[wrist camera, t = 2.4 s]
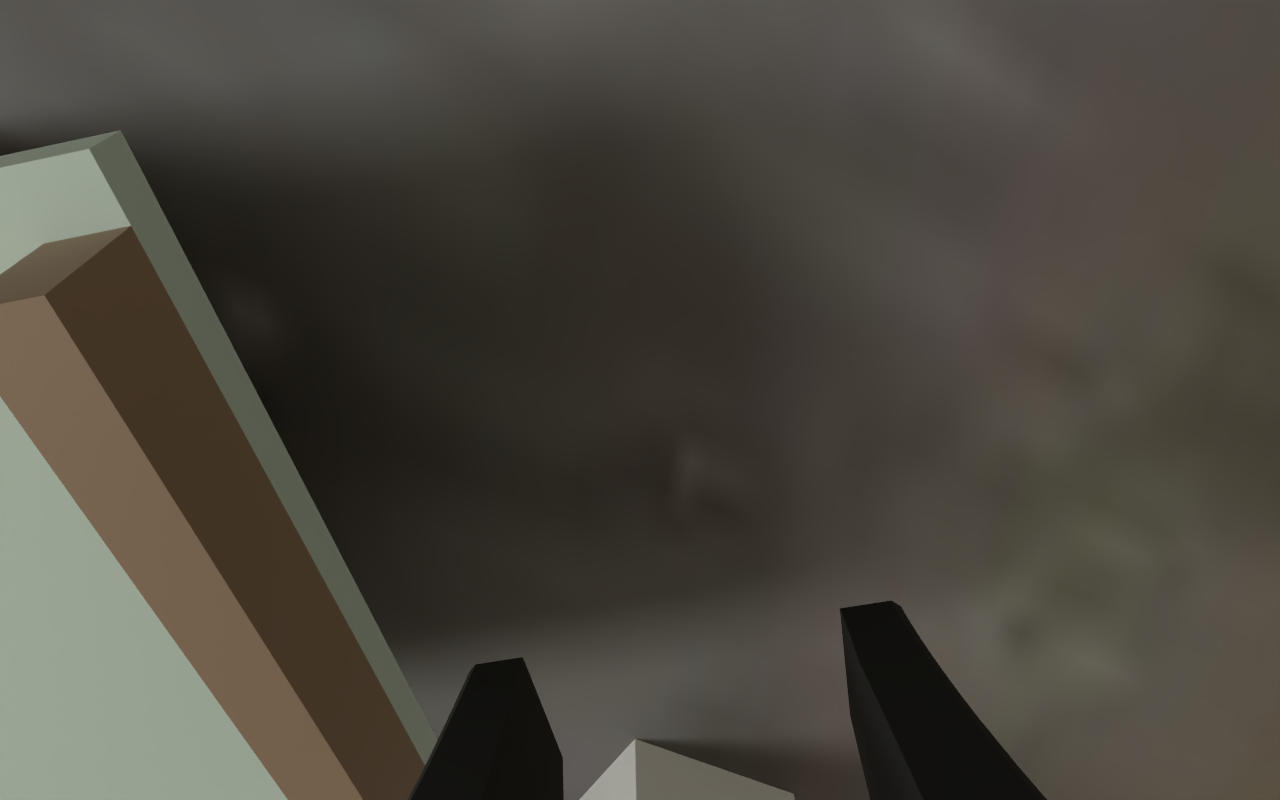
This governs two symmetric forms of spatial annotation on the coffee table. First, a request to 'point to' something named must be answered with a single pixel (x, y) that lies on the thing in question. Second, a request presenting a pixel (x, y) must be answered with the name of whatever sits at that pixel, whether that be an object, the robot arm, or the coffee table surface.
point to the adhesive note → (674, 779)
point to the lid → (162, 531)
